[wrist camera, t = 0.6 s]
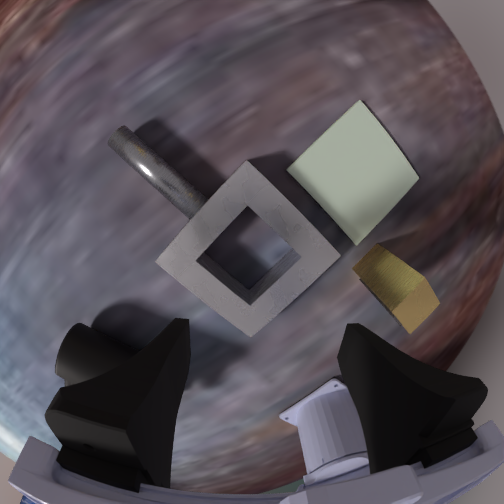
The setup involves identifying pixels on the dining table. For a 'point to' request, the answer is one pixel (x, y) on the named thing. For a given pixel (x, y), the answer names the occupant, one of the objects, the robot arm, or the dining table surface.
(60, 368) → the end cap
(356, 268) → the key
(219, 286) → the block
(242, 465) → the dining table surface
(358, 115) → the mat
